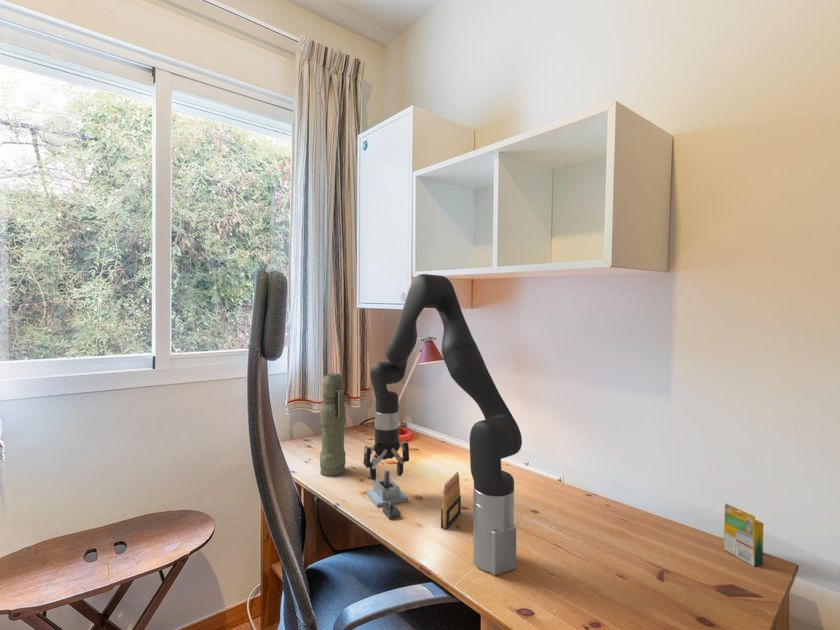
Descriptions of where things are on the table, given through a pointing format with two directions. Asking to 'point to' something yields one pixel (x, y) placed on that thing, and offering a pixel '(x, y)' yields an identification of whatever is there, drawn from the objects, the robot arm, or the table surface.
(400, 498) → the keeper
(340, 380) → the thermos
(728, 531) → the crayon box
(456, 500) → the ammunition clip
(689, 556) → the table surface
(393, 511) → the anchor cleat
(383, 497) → the steel link
